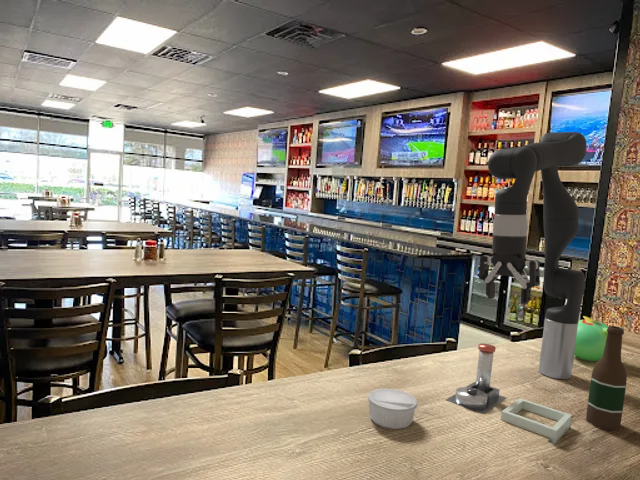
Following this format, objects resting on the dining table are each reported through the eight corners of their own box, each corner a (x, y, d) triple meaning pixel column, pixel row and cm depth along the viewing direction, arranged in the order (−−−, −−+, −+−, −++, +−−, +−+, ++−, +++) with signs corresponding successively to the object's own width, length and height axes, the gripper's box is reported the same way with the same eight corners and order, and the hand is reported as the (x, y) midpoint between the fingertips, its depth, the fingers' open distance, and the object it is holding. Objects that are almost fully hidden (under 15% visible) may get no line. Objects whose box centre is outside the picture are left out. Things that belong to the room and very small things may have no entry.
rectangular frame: (518, 409, 122) (520, 397, 122) (570, 427, 114) (571, 415, 114) (500, 423, 113) (501, 411, 113) (554, 444, 105) (556, 430, 105)
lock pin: (477, 391, 129) (482, 342, 128) (492, 396, 126) (498, 346, 125) (470, 395, 126) (475, 345, 125) (485, 400, 123) (491, 349, 122)
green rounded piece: (567, 348, 181) (572, 310, 180) (619, 360, 171) (625, 319, 170) (558, 359, 167) (563, 317, 165) (615, 372, 157) (621, 328, 156)
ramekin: (384, 435, 103) (386, 411, 103) (356, 413, 113) (358, 391, 112) (425, 427, 108) (427, 405, 108) (395, 406, 118) (397, 385, 118)
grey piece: (470, 389, 133) (471, 374, 132) (506, 401, 126) (508, 385, 126) (444, 403, 122) (446, 387, 121) (482, 418, 115) (484, 401, 115)
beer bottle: (627, 433, 113) (641, 333, 111) (590, 428, 114) (604, 329, 112) (613, 419, 120) (626, 325, 118) (580, 414, 122) (592, 321, 120)
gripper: (547, 234, 111) (544, 303, 113) (490, 231, 122) (488, 294, 124) (531, 236, 106) (528, 308, 108) (474, 232, 117) (472, 298, 119)
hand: (507, 300), depth 116 cm, fingers open, 8 cm apart
